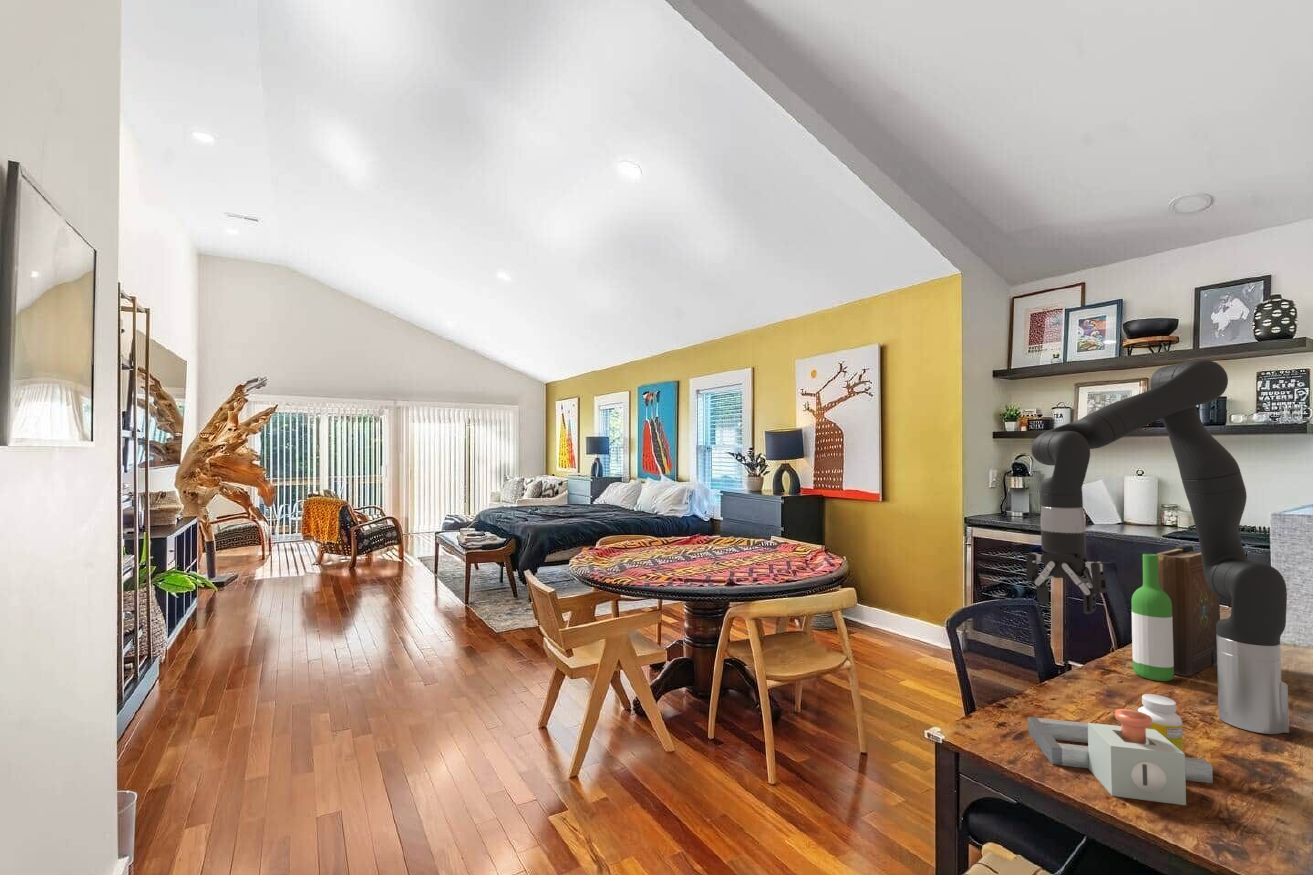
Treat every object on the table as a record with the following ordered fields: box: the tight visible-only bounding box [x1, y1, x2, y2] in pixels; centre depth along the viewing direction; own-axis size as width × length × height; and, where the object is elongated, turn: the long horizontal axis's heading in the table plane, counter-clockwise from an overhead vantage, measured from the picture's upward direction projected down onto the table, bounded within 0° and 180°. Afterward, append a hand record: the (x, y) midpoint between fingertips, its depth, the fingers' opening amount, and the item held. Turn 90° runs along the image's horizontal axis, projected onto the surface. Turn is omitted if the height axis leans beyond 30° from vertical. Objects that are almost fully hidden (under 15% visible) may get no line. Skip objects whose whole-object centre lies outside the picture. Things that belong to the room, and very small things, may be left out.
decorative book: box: [1155, 543, 1221, 677], centre depth 153 cm, size 23×7×30 cm, turn 122°
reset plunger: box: [1114, 708, 1152, 744], centre depth 98 cm, size 5×5×4 cm
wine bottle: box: [1131, 553, 1175, 682], centre depth 146 cm, size 8×8×30 cm
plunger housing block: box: [1087, 722, 1187, 806], centre depth 98 cm, size 10×9×8 cm
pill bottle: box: [1137, 693, 1184, 753], centre depth 106 cm, size 6×6×11 cm
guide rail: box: [1027, 716, 1214, 784], centre depth 108 cm, size 24×12×3 cm, turn 75°
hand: (1065, 608), depth 120 cm, fingers open, 8 cm apart
